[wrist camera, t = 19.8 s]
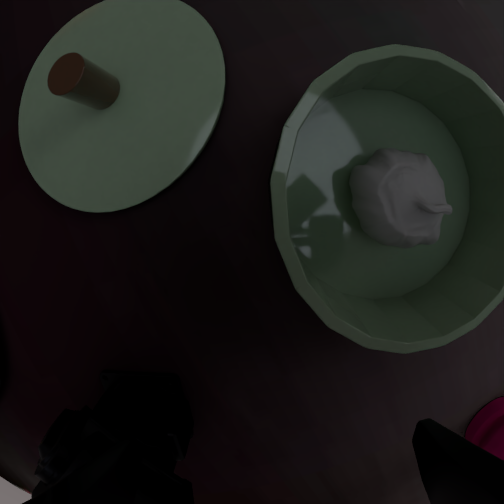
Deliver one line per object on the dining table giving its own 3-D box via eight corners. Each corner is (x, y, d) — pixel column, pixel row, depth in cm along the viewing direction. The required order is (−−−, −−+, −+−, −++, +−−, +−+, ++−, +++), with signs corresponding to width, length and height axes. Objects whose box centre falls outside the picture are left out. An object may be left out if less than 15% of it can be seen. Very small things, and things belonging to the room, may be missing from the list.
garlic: (440, 190, 17) (488, 196, 12) (396, 259, 19) (435, 285, 13) (370, 129, 17) (406, 113, 12) (321, 203, 18) (343, 212, 13)
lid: (33, 223, 19) (-19, 237, 14) (33, 39, 16) (-9, 18, 11) (237, 196, 18) (226, 202, 13) (220, -19, 15) (207, -68, 10)
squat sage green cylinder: (277, 314, 20) (282, 370, 14) (258, 83, 17) (256, 39, 11) (467, 291, 19) (519, 325, 13) (462, 93, 16) (519, 73, 10)
